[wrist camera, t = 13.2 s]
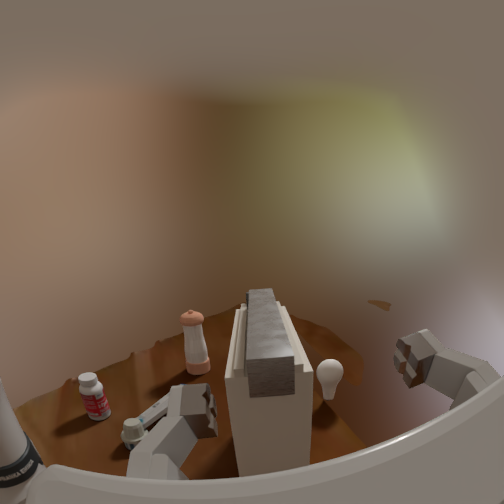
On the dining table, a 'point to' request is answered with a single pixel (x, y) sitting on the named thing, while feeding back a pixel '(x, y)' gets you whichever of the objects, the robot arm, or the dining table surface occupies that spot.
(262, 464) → the stand
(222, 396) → the dining table surface
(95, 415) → the pill bottle
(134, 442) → the toothbrush head
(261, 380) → the brushed metal bar
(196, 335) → the pepper shaker
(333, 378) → the lightbulb
